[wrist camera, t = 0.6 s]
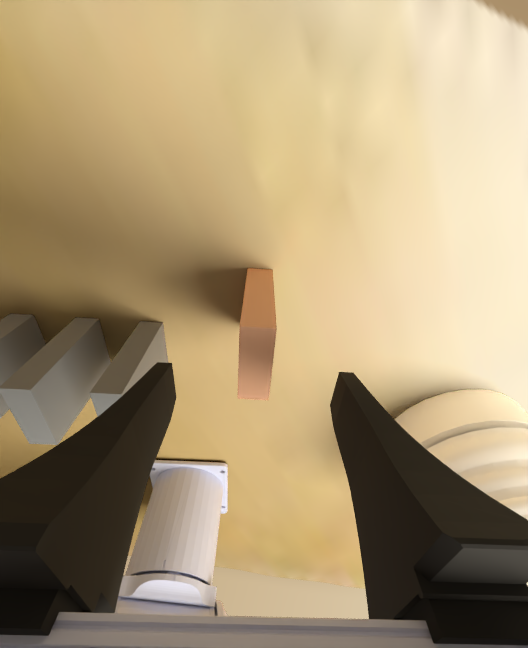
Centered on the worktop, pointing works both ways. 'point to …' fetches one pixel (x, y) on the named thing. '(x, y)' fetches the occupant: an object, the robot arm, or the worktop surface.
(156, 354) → the domino
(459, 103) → the worktop surface
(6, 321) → the domino
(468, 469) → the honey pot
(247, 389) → the tile
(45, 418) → the domino
